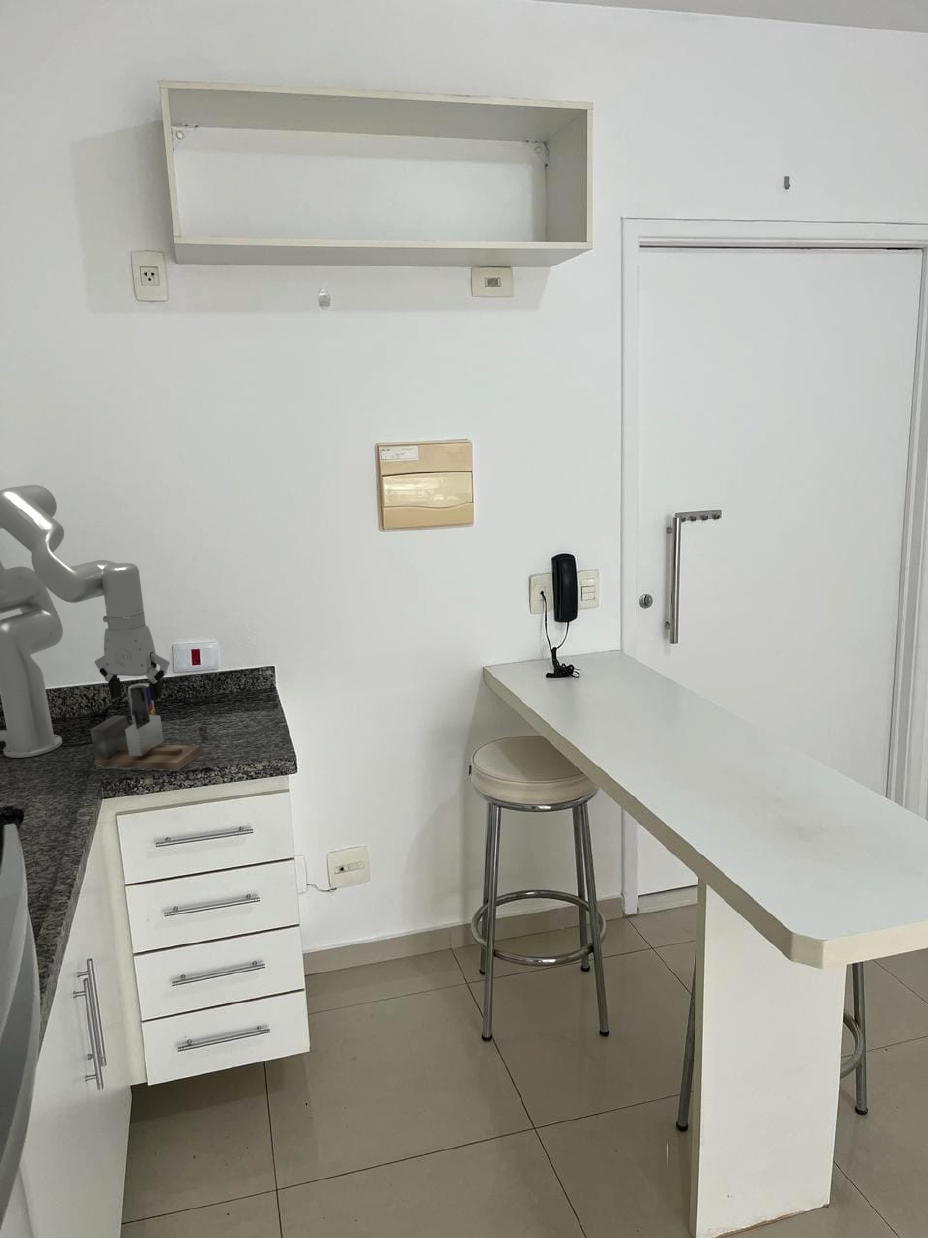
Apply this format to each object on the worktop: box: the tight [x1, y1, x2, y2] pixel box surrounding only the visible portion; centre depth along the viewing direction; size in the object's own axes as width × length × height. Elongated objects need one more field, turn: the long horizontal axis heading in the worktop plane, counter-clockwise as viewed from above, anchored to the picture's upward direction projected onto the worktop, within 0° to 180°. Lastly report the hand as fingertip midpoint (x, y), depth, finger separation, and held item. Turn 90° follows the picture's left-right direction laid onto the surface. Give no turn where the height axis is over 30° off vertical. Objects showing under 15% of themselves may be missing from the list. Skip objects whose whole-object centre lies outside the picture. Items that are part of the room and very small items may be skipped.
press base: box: [90, 715, 202, 770], centre depth 206 cm, size 20×10×9 cm, turn 77°
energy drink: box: [127, 682, 156, 725], centre depth 224 cm, size 5×5×12 cm
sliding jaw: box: [125, 685, 165, 756], centre depth 204 cm, size 3×9×14 cm, turn 167°
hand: (136, 698), depth 204 cm, fingers open, 9 cm apart
